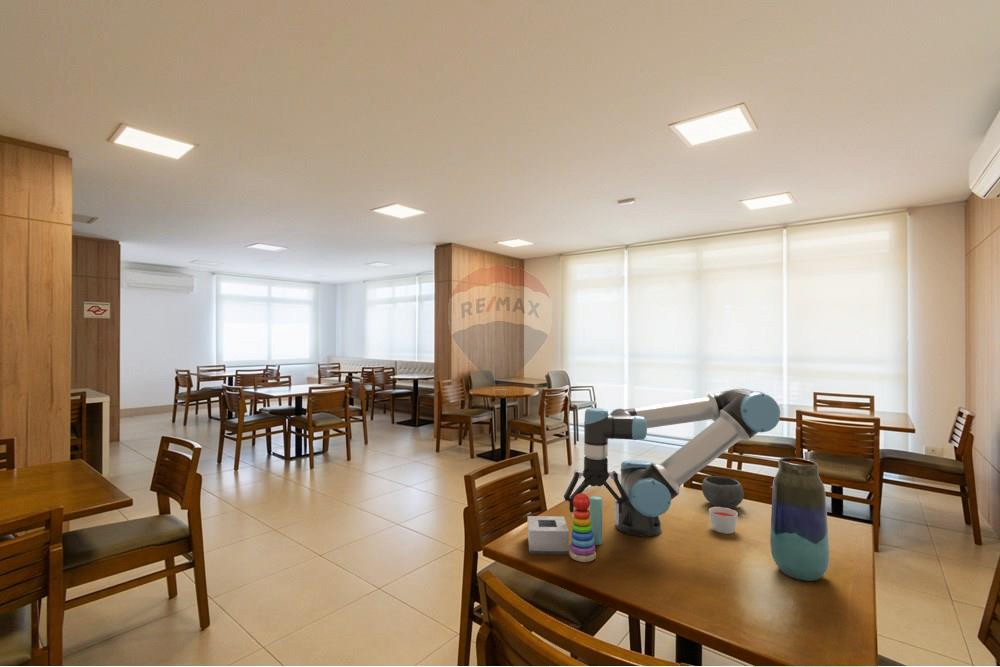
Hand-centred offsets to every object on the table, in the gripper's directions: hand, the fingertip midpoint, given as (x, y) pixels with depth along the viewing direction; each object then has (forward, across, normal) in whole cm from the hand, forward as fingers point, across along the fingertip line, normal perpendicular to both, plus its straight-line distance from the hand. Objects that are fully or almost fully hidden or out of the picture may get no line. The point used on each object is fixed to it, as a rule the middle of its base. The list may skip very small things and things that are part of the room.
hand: (595, 522), depth 147 cm
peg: (+6, 0, 0) cm, 6 cm away
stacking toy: (+7, +6, +10) cm, 14 cm away
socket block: (+6, +16, +3) cm, 17 cm away
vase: (+6, -53, +19) cm, 57 cm away
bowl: (+6, -57, -35) cm, 67 cm away
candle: (+6, -46, -11) cm, 48 cm away
